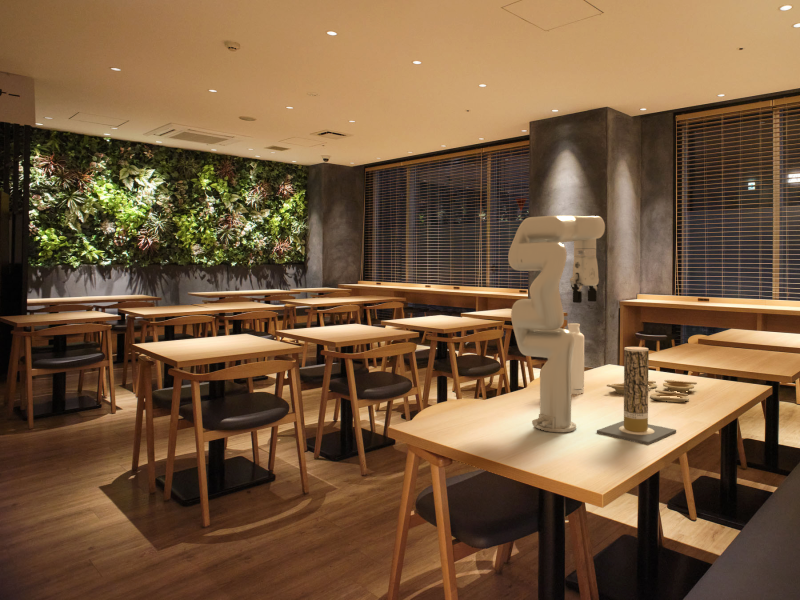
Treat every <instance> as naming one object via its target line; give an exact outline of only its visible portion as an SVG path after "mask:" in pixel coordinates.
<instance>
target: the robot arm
mask: <svg viewBox="0 0 800 600" xmlns="http://www.w3.org/2000/svg"><path fill="white" fill-rule="evenodd" d="M605 229H606V224H605V221H604V219H603V218H602V217H601V216H599V215H596V216H595V215H585V216H583V215H582V216H581V215H545V216H531V217H530V216H529V217H526V218H525V219H524V220H523V221H521V223H520V224H519V227H518V228H517V230H516V231H515V235H514V238H513V240H512V243H511V245H510V247H509V249H508V255H507V256H508V258H507V259H508V265H509V266H510V267H511V268H512V270H514V271H520V272H525V271H526V272H527V271H529V272H530V271H532V272H533V271H540V273H539V274H538V275H537V276H536V277H535V278H534V280H533V281H532V283H531V285H530V287H529V296H530V298H521V299H518V300H516V301H515V302H513V305H512V306H511V313H510V316H511V318H510V319H511V323H512V330H513V332H514V336H515V341H516V345H517V347H518V351H519V352H520V353H521V354H522V355H523V356H525V357H535V358H543V359H547V360H546V362H545V363H544V365H543V366H542V367H541V369H540V371H539V413H538V418H536V419H533V420H532V421H531V424H532V426H534V427H535V428H536V429H538V430H540V429H541V431H543V430H544V432H549V433H570V432H572V431H573V432H574V431H576V429H577V424H576V423H575V422H573V421H572V394H571V365H572V356H573V350H574V336H573V334H572V333H571V332H570V331H568V329H565V328H562V327H563V325H564V321H565V315H564V309H563V303H562V299H561V294H560V282H561V280H562V276H563V274H564V269H565V266H566V263H567V256H568V254H567V249H566V246H565V245H564V244H562V243H570V242H573V265H572V277H571V278H570V279H569V283H570V287H571V291H572V302H573V303H577V304H581V303H582V302H583V301H582V300H583V299H582V298H583V296H582V294H583V291H581V290H582V288H583V286H584V287H586V286H587V301H588V302H592V303H593V302H597V300H598V299H597V296H598V294H597V291H598V287H599V281H600V278H599V267H598V259H597V239H600V238H602V236H603V235H604V234H605V231H606V230H605Z"/></svg>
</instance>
